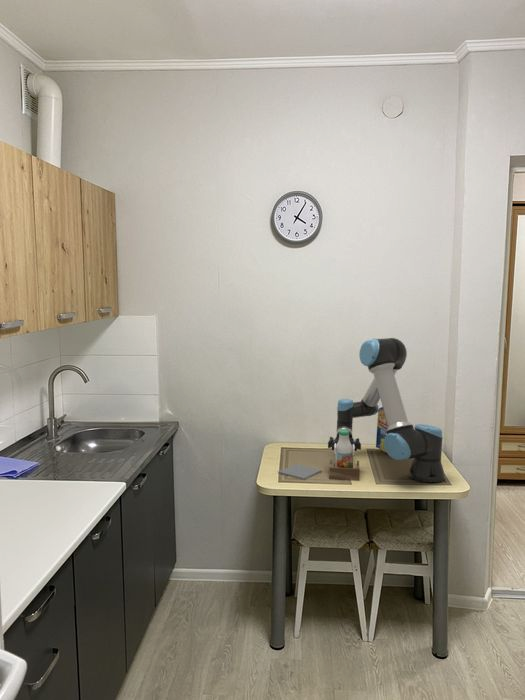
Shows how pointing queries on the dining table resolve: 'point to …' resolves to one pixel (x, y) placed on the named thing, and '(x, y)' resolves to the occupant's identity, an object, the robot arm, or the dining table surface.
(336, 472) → the wooden frame
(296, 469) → the grey tile
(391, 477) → the dining table surface
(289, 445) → the dining table surface
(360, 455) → the dining table surface
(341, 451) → the milk bottle
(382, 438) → the beverage box
